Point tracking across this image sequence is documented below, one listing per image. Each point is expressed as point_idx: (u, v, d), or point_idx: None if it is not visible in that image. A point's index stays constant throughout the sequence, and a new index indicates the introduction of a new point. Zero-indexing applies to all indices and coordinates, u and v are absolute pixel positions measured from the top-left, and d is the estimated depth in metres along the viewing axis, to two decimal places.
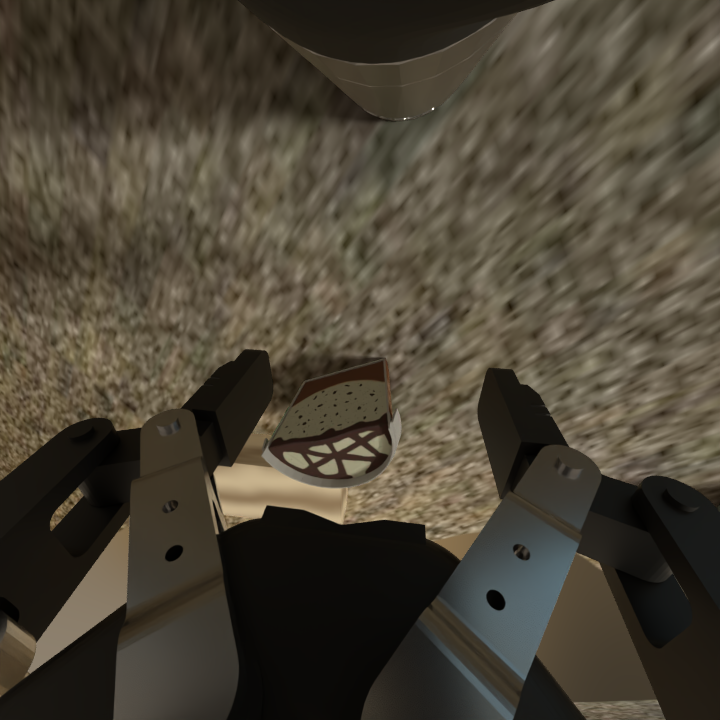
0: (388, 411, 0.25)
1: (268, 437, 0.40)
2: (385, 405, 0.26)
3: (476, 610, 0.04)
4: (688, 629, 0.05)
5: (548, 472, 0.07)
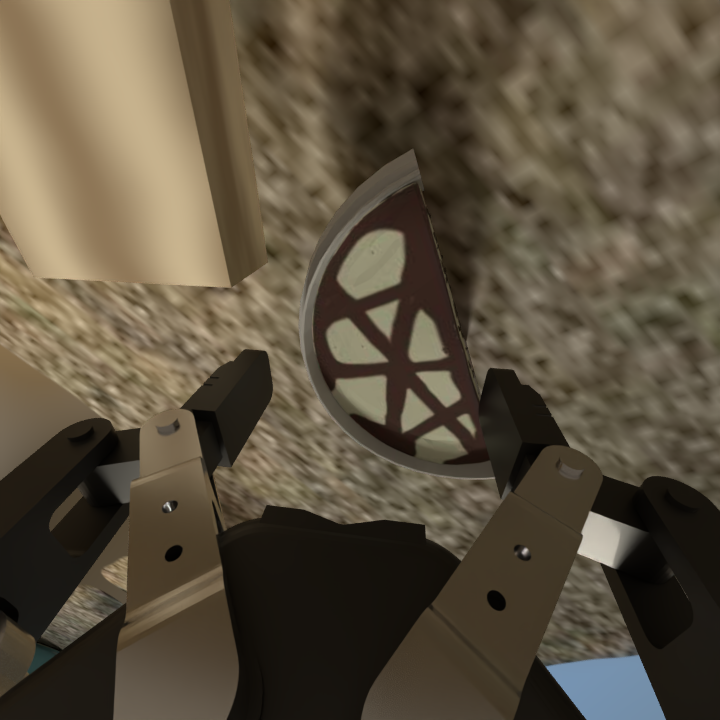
0: None
1: (231, 40, 0.14)
2: None
3: (476, 610, 0.04)
4: (689, 630, 0.05)
5: (549, 473, 0.07)
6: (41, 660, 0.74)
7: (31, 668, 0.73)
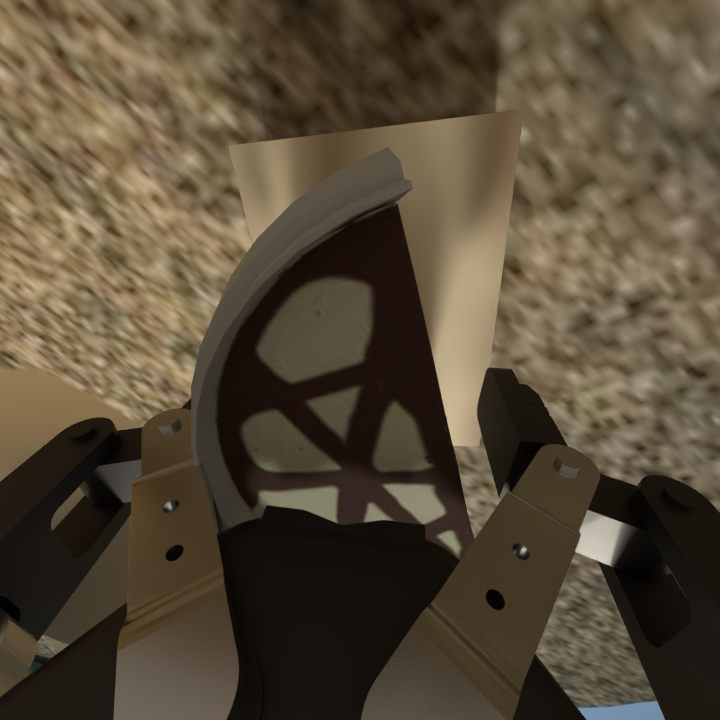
0: None
1: None
2: None
3: (475, 610, 0.04)
4: (687, 628, 0.05)
5: (547, 471, 0.07)
6: None
7: None
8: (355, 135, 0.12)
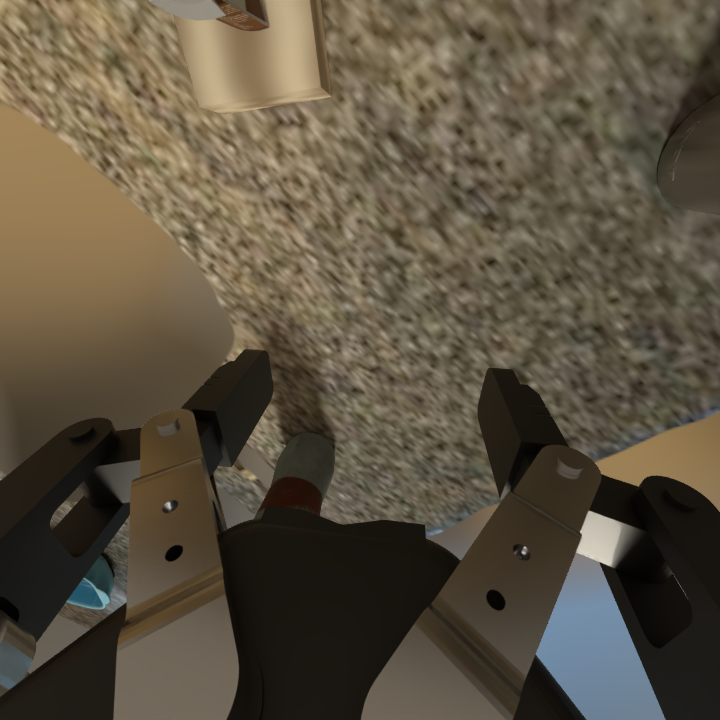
0: None
1: None
2: None
3: (476, 610, 0.04)
4: (688, 629, 0.05)
5: (548, 472, 0.07)
6: None
7: None
8: None
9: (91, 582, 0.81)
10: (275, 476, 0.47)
